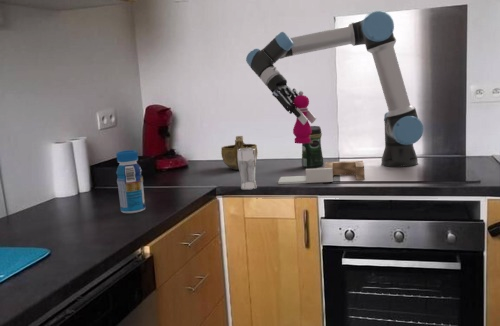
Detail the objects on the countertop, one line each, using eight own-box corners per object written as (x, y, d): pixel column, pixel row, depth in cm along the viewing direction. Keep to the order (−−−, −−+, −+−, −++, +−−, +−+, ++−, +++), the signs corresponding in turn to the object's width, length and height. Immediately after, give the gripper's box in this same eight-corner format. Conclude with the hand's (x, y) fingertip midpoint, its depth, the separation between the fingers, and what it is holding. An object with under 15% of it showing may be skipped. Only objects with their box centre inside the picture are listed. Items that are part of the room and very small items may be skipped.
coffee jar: (318, 164, 230) (316, 124, 227) (325, 166, 223) (324, 125, 220) (299, 166, 227) (297, 126, 225) (306, 169, 220) (304, 127, 217)
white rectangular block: (332, 180, 188) (332, 167, 188) (332, 181, 186) (332, 168, 186) (306, 181, 190) (305, 168, 189) (306, 182, 188) (305, 169, 187)
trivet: (308, 177, 199) (307, 175, 199) (306, 183, 189) (306, 181, 189) (281, 178, 201) (281, 176, 201) (277, 184, 191) (277, 182, 191)
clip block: (362, 172, 202) (362, 160, 201) (364, 179, 188) (364, 166, 187) (325, 174, 204) (325, 162, 204) (325, 180, 191) (324, 168, 190)
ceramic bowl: (259, 171, 222) (256, 138, 220) (221, 174, 222) (219, 141, 220) (257, 163, 244) (255, 133, 242) (223, 166, 244) (221, 136, 242)
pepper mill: (311, 141, 196) (310, 90, 193) (312, 143, 189) (310, 90, 186) (293, 141, 197) (291, 91, 194) (293, 144, 190) (291, 91, 187)
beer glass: (260, 186, 189) (258, 147, 187) (253, 190, 183) (250, 150, 180) (244, 186, 192) (241, 148, 190) (236, 189, 186) (233, 150, 183)
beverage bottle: (115, 213, 162) (108, 153, 159) (129, 207, 170) (123, 149, 167) (136, 214, 159) (130, 153, 156) (151, 207, 167) (144, 149, 164)
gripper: (264, 73, 188) (302, 116, 180) (292, 72, 202) (328, 112, 194) (255, 88, 193) (291, 130, 185) (282, 86, 206) (317, 126, 198)
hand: (309, 121), depth 189 cm, fingers closed on pepper mill, 5 cm apart
